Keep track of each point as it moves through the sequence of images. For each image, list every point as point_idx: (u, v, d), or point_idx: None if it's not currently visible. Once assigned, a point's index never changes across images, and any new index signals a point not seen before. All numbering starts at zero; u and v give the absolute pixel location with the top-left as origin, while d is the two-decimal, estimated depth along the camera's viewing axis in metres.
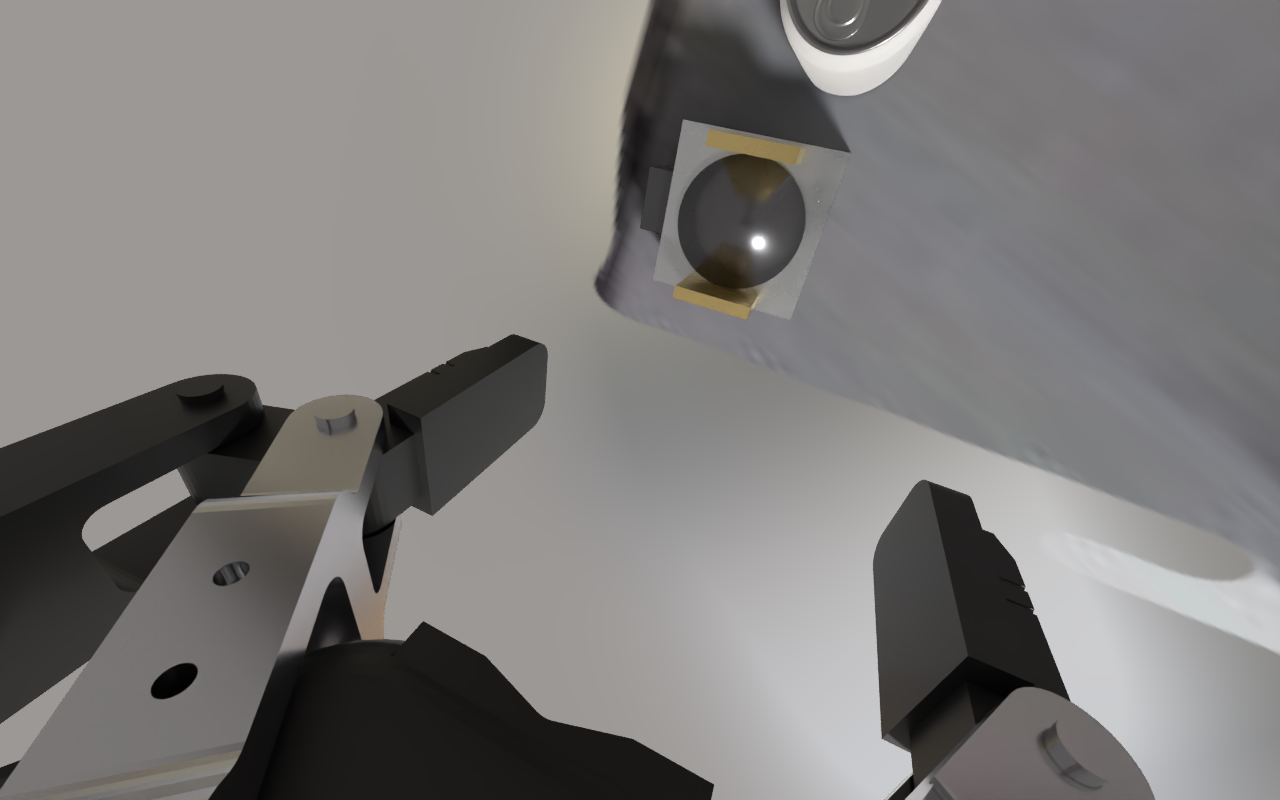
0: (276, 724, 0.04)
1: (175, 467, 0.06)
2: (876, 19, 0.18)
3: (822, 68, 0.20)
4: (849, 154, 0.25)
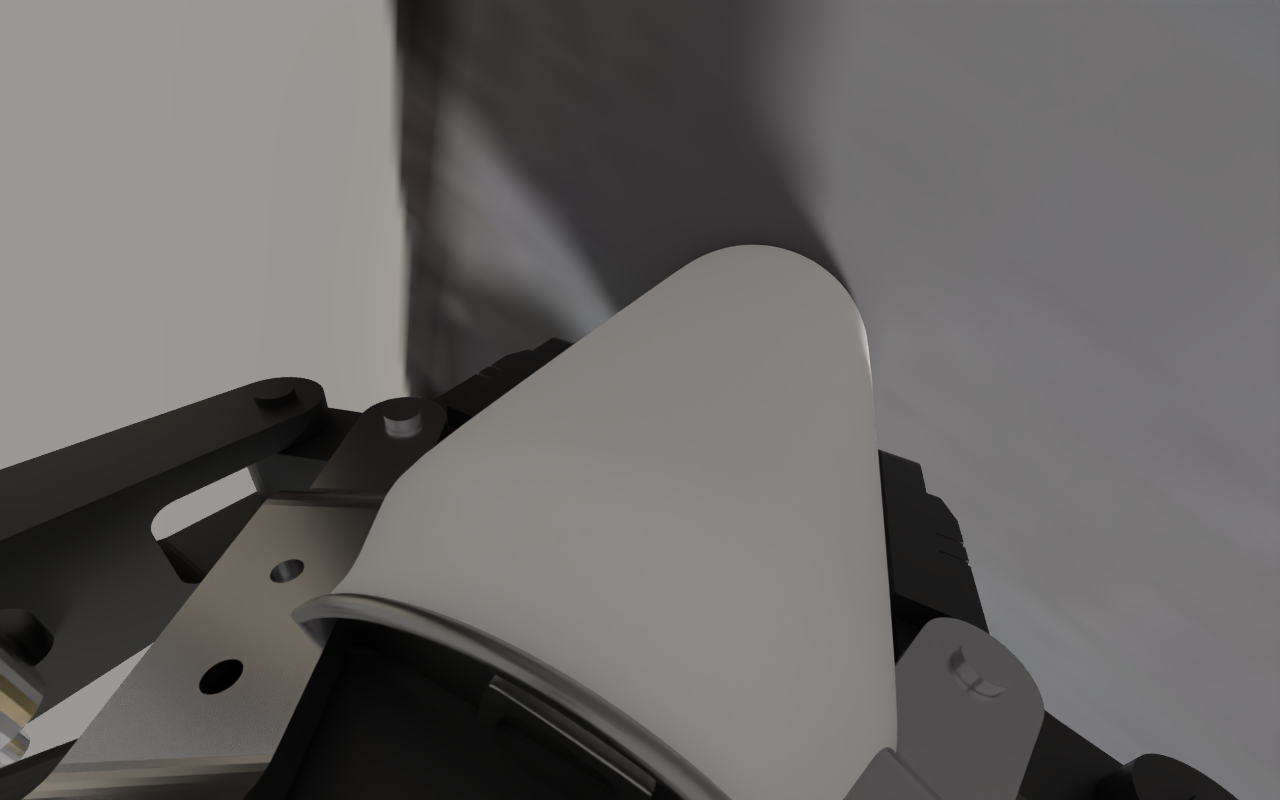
0: None
1: (241, 467, 0.06)
2: None
3: None
4: None
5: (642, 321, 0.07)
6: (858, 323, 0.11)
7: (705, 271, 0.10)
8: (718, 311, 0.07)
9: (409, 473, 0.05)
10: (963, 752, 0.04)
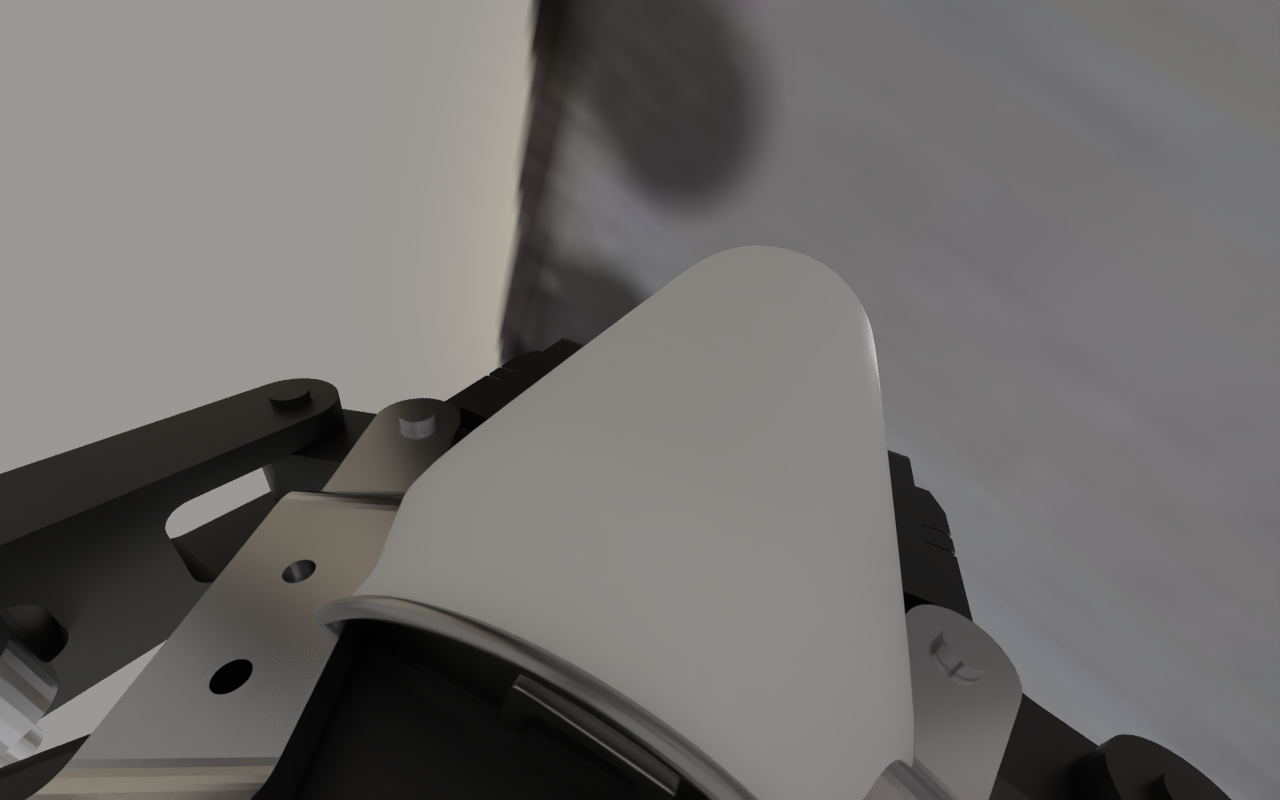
0: None
1: (255, 468, 0.06)
2: None
3: None
4: None
5: (654, 323, 0.07)
6: (865, 324, 0.11)
7: (713, 272, 0.10)
8: (729, 313, 0.07)
9: (427, 475, 0.05)
10: (945, 734, 0.04)
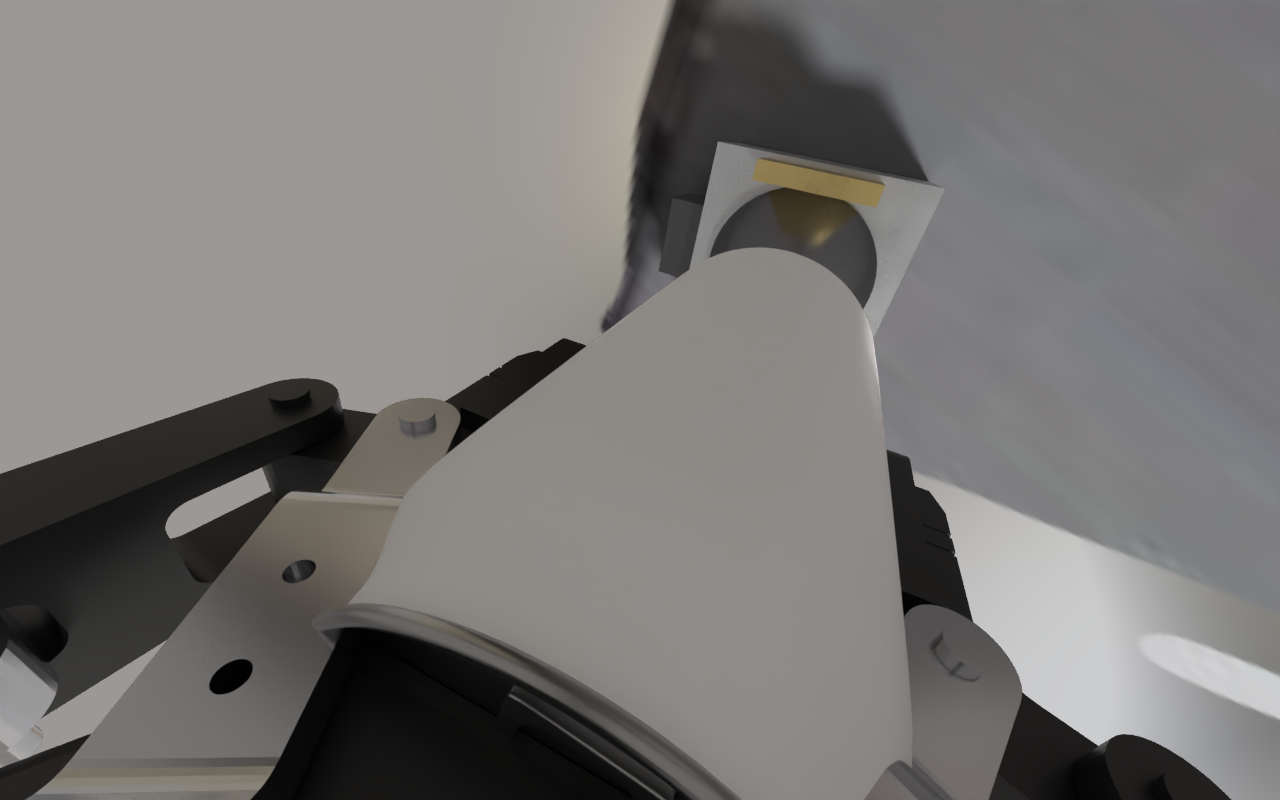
0: None
1: (255, 468, 0.06)
2: None
3: None
4: (942, 190, 0.19)
5: (652, 326, 0.07)
6: (865, 326, 0.11)
7: (712, 275, 0.10)
8: (728, 316, 0.07)
9: (424, 481, 0.05)
10: (944, 734, 0.04)
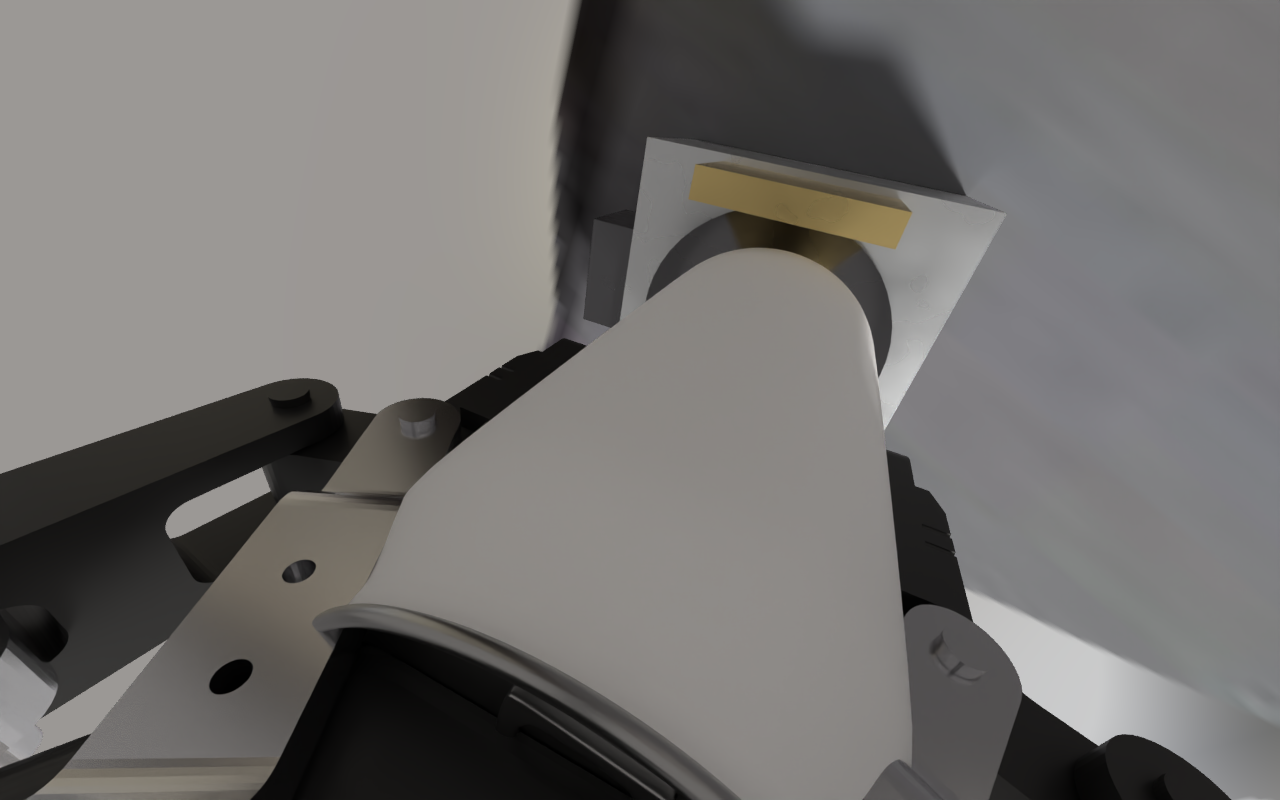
0: None
1: (255, 468, 0.06)
2: None
3: None
4: (1001, 216, 0.12)
5: (652, 327, 0.07)
6: (865, 326, 0.11)
7: (712, 275, 0.10)
8: (727, 316, 0.07)
9: (424, 481, 0.05)
10: (945, 734, 0.04)
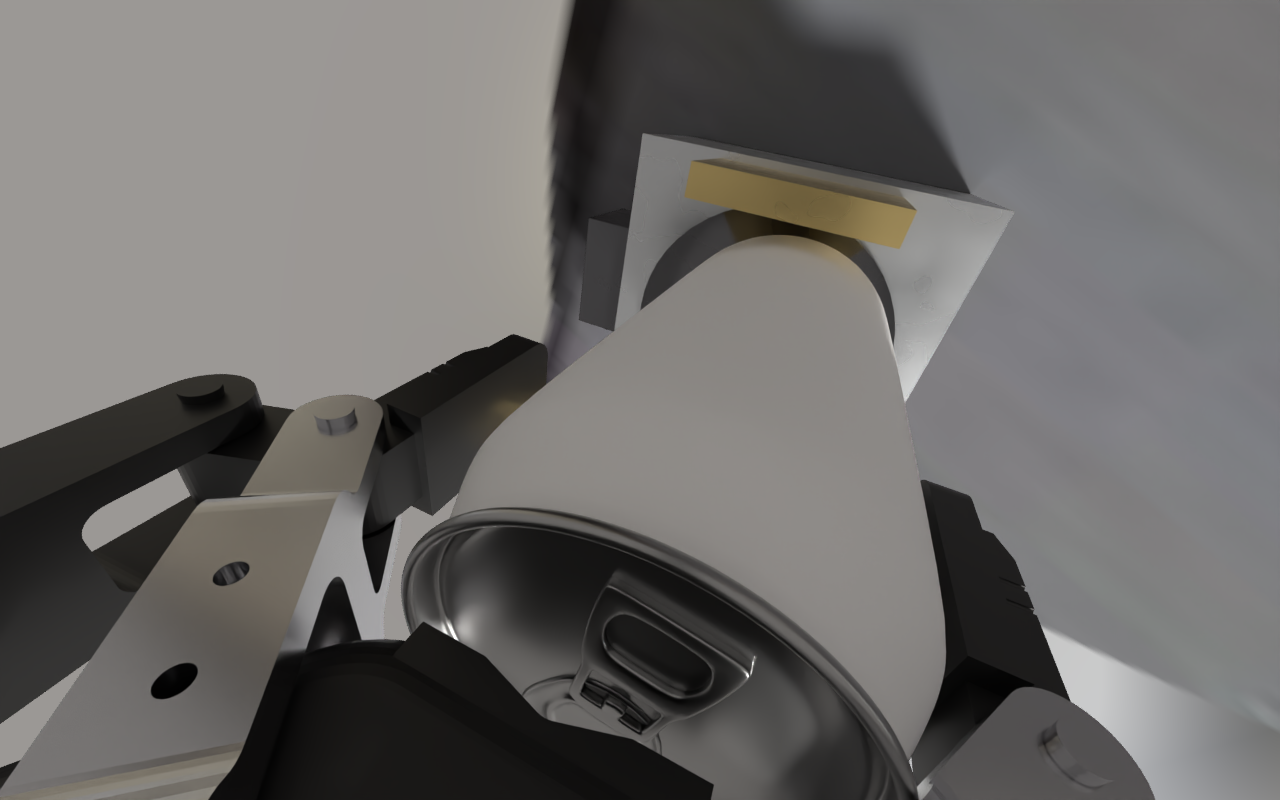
0: (276, 724, 0.04)
1: (175, 467, 0.06)
2: None
3: None
4: (1009, 214, 0.11)
5: (693, 298, 0.08)
6: (881, 307, 0.11)
7: (739, 257, 0.10)
8: (761, 289, 0.08)
9: (509, 423, 0.05)
10: None
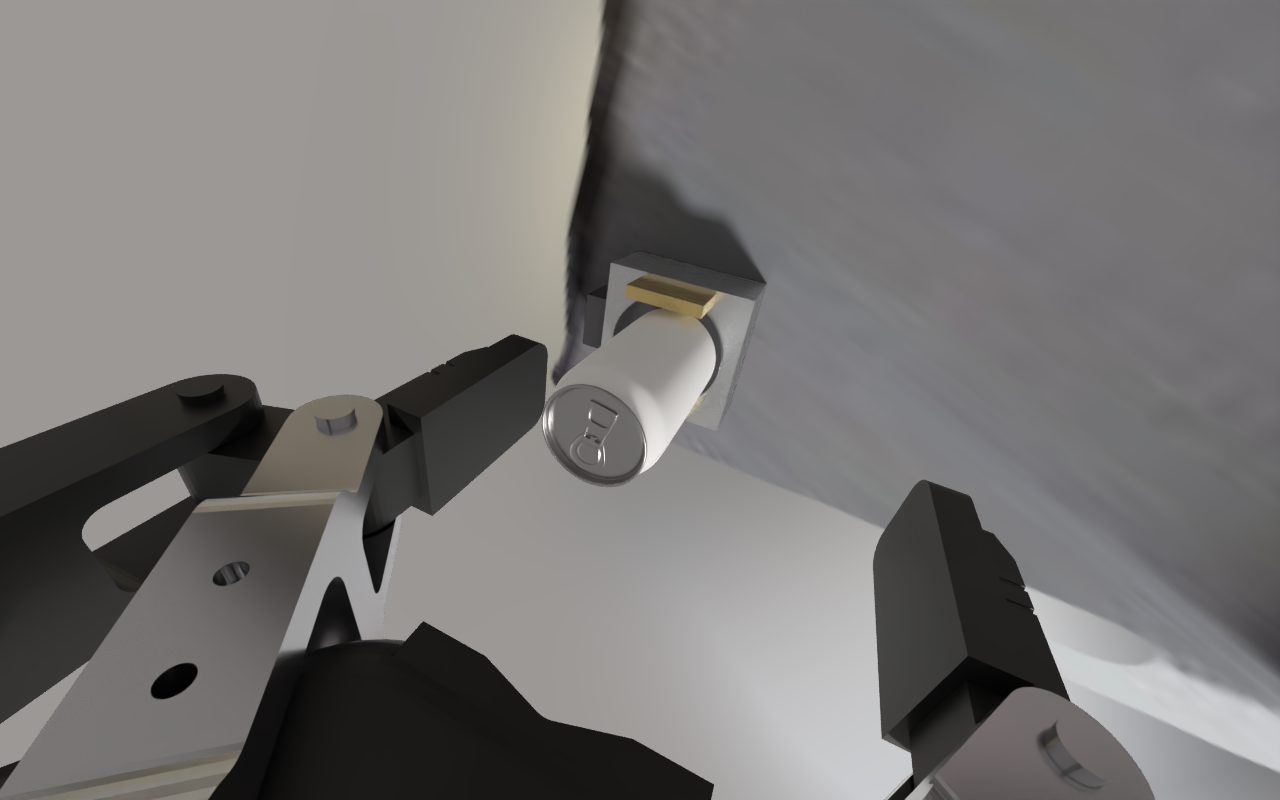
0: (276, 724, 0.04)
1: (175, 467, 0.06)
2: (611, 467, 0.23)
3: None
4: (753, 302, 0.28)
5: (618, 340, 0.25)
6: (703, 339, 0.28)
7: (642, 322, 0.27)
8: (640, 337, 0.25)
9: (567, 373, 0.22)
10: None
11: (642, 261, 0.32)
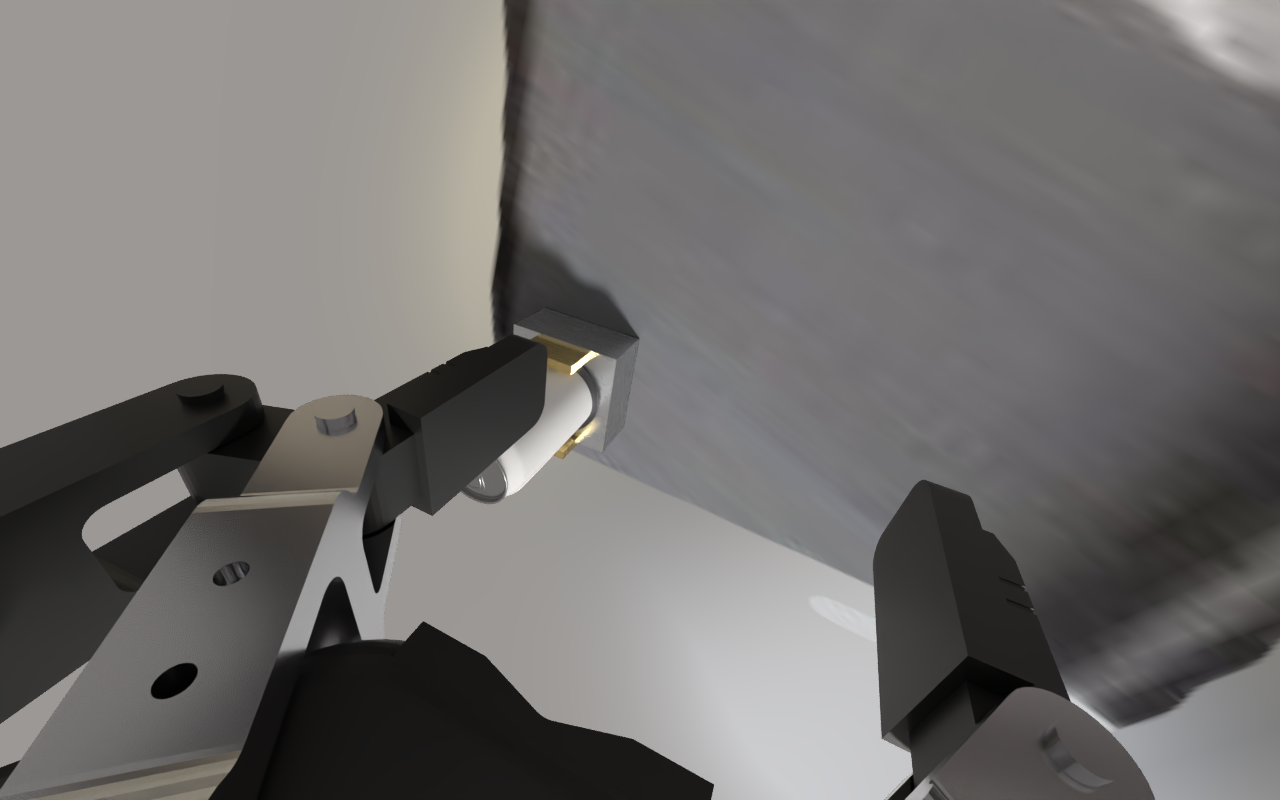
0: (276, 724, 0.04)
1: (175, 467, 0.06)
2: (489, 490, 0.32)
3: None
4: (615, 360, 0.38)
5: None
6: (576, 388, 0.37)
7: None
8: None
9: None
10: None
11: (542, 320, 0.41)
